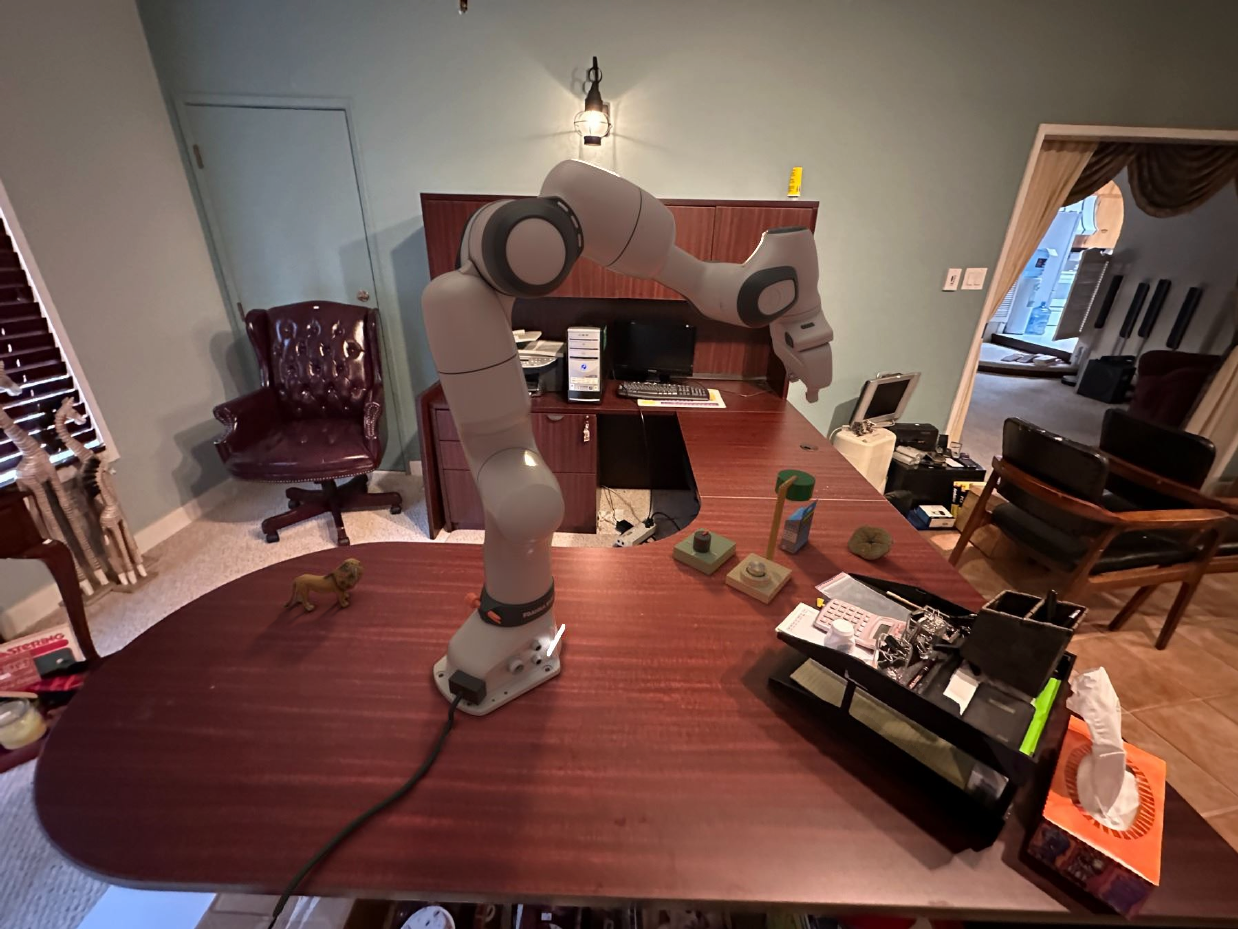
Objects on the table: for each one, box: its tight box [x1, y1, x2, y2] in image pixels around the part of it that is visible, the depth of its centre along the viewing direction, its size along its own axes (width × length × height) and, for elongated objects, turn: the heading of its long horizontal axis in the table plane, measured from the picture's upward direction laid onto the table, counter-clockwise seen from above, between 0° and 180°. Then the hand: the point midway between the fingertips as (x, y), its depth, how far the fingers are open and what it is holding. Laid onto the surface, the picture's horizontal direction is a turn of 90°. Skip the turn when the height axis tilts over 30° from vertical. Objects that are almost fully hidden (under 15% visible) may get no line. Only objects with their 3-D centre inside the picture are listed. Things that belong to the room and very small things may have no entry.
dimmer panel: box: [672, 527, 737, 576], centre depth 117 cm, size 12×10×3 cm
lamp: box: [764, 468, 816, 561], centre depth 111 cm, size 12×8×19 cm
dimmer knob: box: [693, 530, 712, 553], centre depth 115 cm, size 4×4×4 cm
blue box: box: [779, 498, 819, 555], centre depth 122 cm, size 9×4×12 cm, turn 139°
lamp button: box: [747, 561, 765, 577], centre depth 106 cm, size 4×4×2 cm
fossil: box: [847, 524, 894, 560], centre depth 121 cm, size 9×4×10 cm
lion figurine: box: [283, 557, 365, 612], centre depth 96 cm, size 15×5×9 cm, turn 110°
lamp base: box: [724, 552, 793, 605], centre depth 109 cm, size 12×10×4 cm
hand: (802, 390), depth 95 cm, fingers open, 8 cm apart
